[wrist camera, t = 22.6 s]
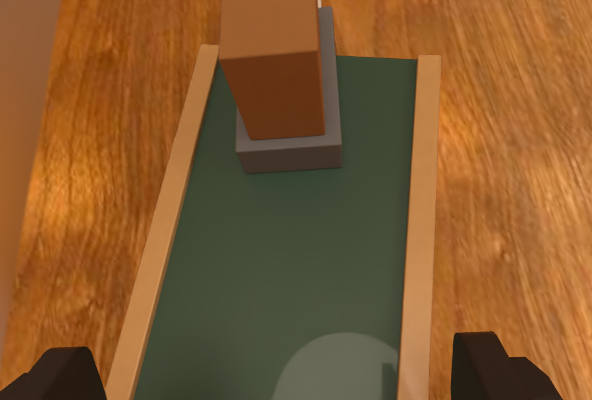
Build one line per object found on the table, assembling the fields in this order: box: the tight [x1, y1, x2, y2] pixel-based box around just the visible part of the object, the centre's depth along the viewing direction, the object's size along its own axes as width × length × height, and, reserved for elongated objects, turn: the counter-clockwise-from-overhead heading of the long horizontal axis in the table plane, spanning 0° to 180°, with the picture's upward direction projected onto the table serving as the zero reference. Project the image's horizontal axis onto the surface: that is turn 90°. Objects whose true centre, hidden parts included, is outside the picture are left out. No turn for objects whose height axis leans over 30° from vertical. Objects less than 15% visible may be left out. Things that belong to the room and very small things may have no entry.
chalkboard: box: [105, 44, 441, 400], centre depth 21 cm, size 13×20×1 cm, turn 172°
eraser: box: [218, 0, 342, 174], centre depth 20 cm, size 8×5×8 cm, turn 1°
